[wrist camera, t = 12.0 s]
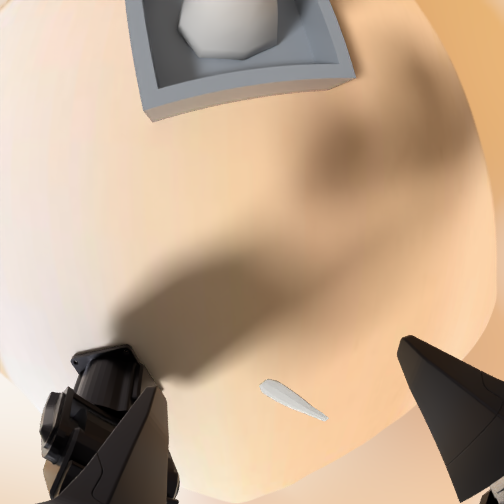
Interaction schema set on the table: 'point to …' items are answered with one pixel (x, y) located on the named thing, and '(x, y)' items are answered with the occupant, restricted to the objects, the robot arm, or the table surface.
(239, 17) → the flask
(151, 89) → the tray
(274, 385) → the butter knife
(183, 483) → the table surface
